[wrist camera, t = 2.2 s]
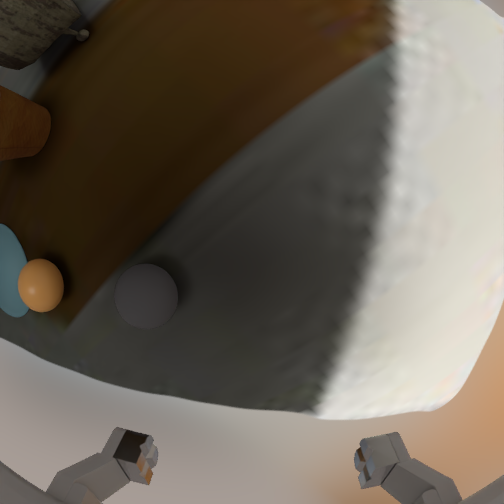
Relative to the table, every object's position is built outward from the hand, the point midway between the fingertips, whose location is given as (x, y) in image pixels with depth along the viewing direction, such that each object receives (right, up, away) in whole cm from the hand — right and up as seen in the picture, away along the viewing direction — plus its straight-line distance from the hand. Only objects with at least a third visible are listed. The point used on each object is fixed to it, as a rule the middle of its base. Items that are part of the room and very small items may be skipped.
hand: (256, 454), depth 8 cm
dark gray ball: (-10, +4, +15) cm, 19 cm away
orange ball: (-24, +4, +15) cm, 29 cm away
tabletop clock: (-25, +36, +11) cm, 45 cm away
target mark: (-36, +5, +19) cm, 41 cm away
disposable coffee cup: (-26, +22, +15) cm, 37 cm away
